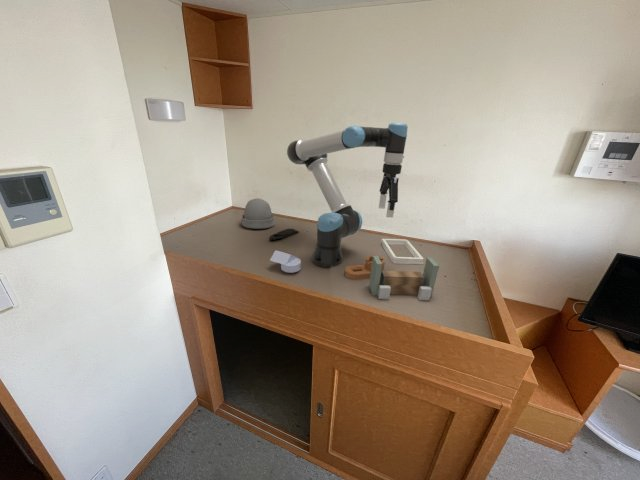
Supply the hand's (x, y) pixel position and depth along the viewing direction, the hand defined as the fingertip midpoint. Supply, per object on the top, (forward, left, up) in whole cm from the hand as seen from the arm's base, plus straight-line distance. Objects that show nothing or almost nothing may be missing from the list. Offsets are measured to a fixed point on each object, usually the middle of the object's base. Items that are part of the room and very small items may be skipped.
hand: (385, 212), depth 120 cm
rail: (+4, -22, -27) cm, 35 cm away
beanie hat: (-67, +47, -29) cm, 87 cm away
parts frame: (+16, +15, -27) cm, 35 cm away
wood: (-53, +35, -28) cm, 69 cm away
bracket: (-8, -8, -27) cm, 30 cm away
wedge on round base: (-49, -1, -23) cm, 54 cm away
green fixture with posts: (+4, -22, -27) cm, 35 cm away
